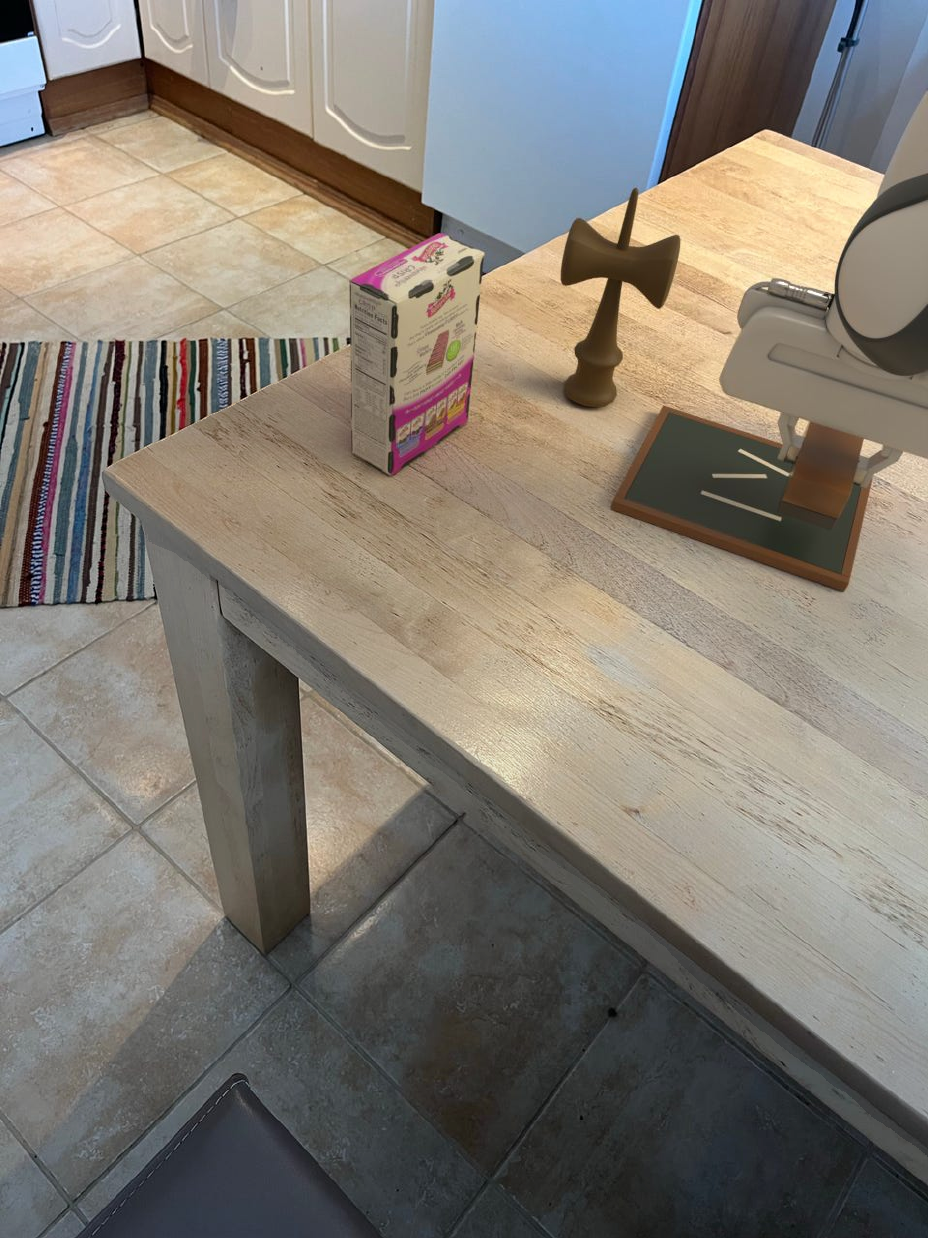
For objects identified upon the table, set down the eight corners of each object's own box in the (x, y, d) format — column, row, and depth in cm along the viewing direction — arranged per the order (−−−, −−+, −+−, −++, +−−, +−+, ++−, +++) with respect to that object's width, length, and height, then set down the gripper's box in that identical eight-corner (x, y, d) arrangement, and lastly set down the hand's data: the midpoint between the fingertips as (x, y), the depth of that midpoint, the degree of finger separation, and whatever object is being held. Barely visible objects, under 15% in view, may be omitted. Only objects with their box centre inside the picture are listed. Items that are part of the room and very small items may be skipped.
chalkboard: (869, 482, 87) (874, 472, 86) (844, 592, 76) (849, 583, 75) (660, 413, 91) (663, 404, 90) (610, 509, 80) (612, 499, 80)
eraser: (849, 461, 80) (867, 426, 77) (831, 531, 74) (850, 495, 71) (798, 444, 81) (814, 409, 78) (776, 512, 74) (792, 476, 72)
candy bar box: (426, 400, 88) (439, 229, 76) (469, 423, 87) (489, 251, 75) (345, 453, 82) (346, 275, 70) (389, 479, 80) (398, 301, 68)
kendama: (634, 424, 89) (691, 214, 74) (534, 401, 90) (571, 190, 75) (641, 390, 93) (697, 185, 78) (546, 369, 94) (584, 162, 79)
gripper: (742, 289, 66) (688, 449, 76) (1047, 379, 62) (947, 535, 72) (760, 253, 70) (707, 409, 80) (1047, 335, 66) (952, 489, 76)
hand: (822, 469), depth 76 cm, fingers closed on eraser, 4 cm apart
